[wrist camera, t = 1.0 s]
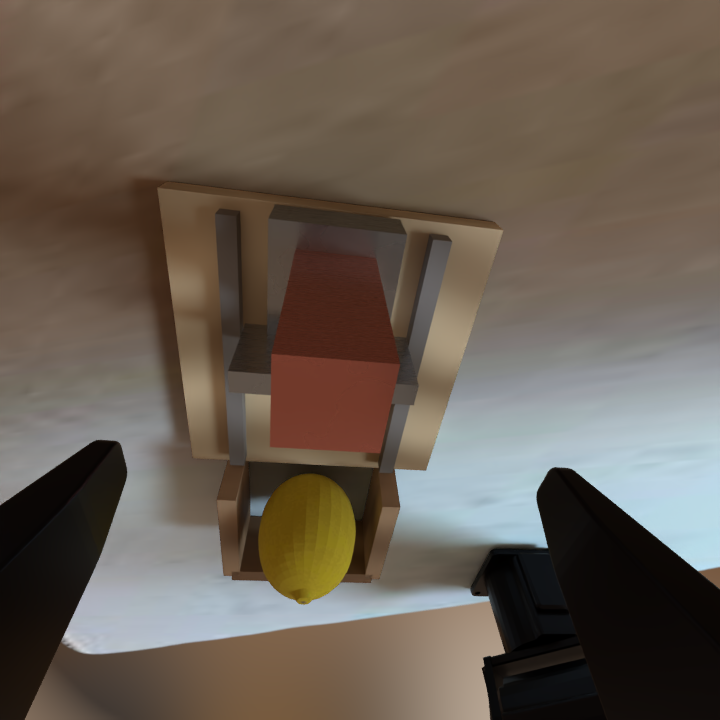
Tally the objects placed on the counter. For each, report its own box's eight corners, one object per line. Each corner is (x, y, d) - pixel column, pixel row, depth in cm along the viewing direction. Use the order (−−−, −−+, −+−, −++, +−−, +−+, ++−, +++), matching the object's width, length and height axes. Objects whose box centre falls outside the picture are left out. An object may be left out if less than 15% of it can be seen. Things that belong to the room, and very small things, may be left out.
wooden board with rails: (422, 456, 27) (428, 480, 25) (198, 443, 25) (188, 468, 24) (494, 222, 19) (510, 236, 17) (167, 181, 17) (149, 192, 15)
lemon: (251, 480, 27) (225, 608, 21) (304, 433, 25) (293, 559, 19) (317, 512, 30) (311, 637, 23) (370, 472, 28) (381, 597, 21)
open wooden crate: (373, 529, 31) (378, 582, 28) (236, 524, 30) (223, 579, 27) (392, 454, 27) (400, 507, 23) (232, 445, 25) (216, 500, 22)
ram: (399, 346, 20) (436, 502, 13) (248, 333, 19) (195, 492, 12) (426, 222, 17) (498, 336, 10) (246, 200, 16) (169, 305, 9)
